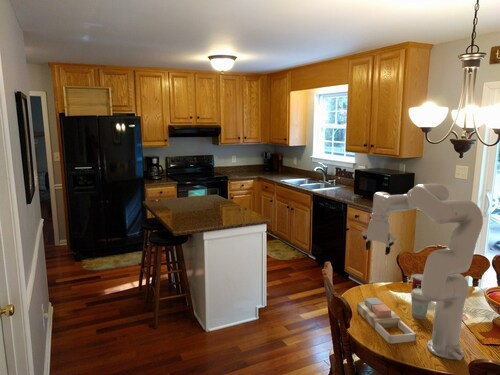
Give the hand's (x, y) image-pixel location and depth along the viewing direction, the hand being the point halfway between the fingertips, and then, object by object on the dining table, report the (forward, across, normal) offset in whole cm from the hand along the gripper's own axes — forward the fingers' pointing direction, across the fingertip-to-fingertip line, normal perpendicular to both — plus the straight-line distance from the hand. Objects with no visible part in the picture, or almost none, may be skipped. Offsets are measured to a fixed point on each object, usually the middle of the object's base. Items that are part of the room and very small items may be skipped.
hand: (377, 251), depth 185 cm
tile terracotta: (+22, +11, -17) cm, 29 cm away
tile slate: (+22, +5, -13) cm, 26 cm away
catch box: (+26, +20, -23) cm, 40 cm away
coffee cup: (+26, +22, 0) cm, 34 cm away
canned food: (+26, +16, +21) cm, 37 cm away
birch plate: (+26, +8, -15) cm, 31 cm away
